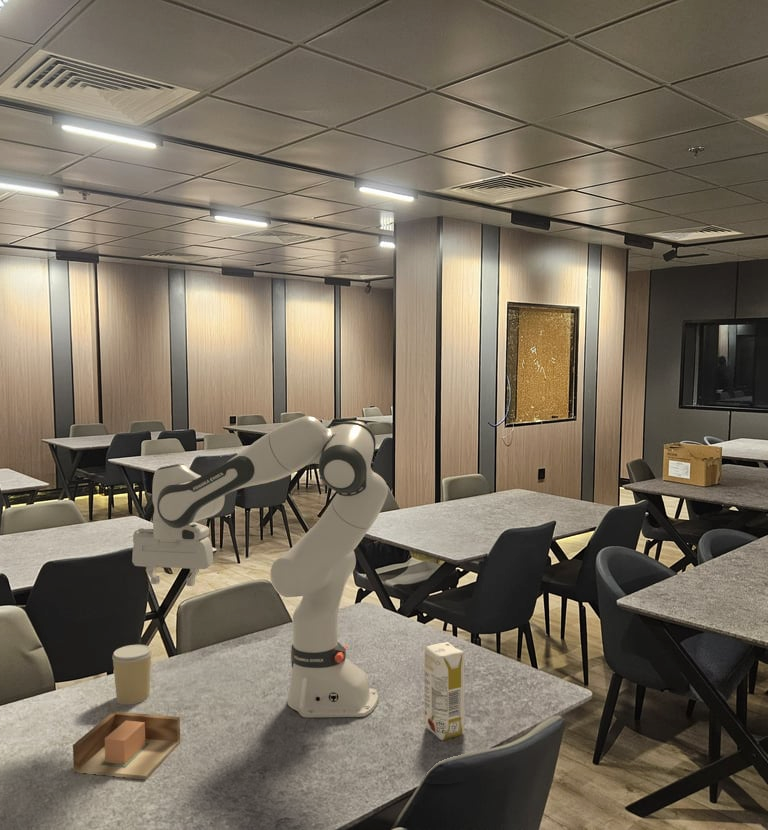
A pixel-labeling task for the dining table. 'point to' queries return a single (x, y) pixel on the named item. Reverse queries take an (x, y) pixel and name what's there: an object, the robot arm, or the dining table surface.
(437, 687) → the juice carton
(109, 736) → the brick
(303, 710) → the robot arm
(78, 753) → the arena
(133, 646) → the coffee cup
